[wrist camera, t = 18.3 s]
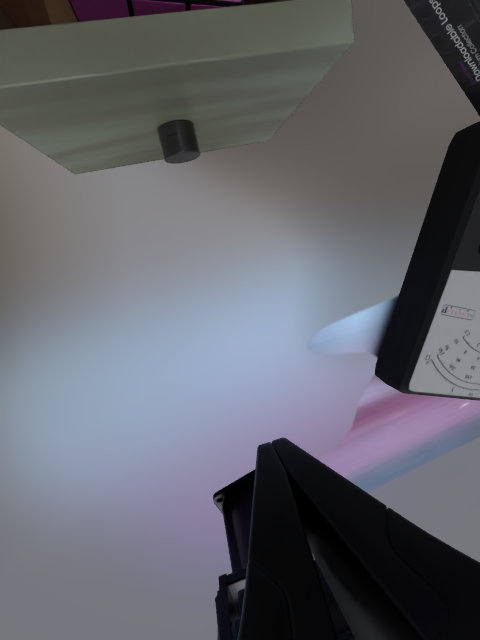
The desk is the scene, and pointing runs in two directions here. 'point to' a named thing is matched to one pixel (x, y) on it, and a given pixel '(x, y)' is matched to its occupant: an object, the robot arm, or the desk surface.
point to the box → (454, 38)
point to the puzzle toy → (140, 7)
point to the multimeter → (442, 288)
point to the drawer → (161, 77)
